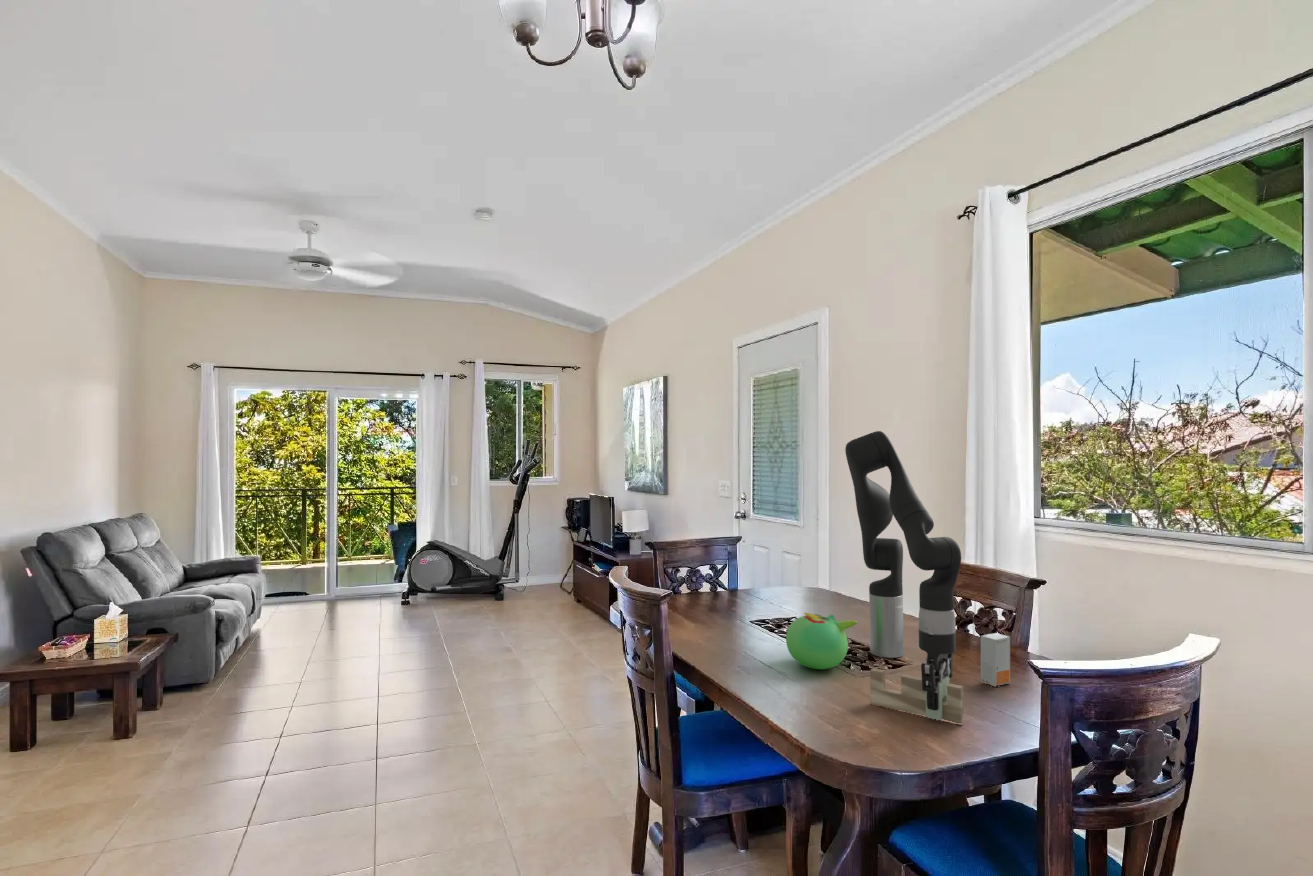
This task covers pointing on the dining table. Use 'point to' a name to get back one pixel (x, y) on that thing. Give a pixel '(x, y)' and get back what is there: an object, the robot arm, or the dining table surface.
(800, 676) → the dining table surface
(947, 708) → the maple board
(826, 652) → the toy bird
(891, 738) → the dining table surface
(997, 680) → the skincare box
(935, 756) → the dining table surface
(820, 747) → the dining table surface
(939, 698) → the notched block
